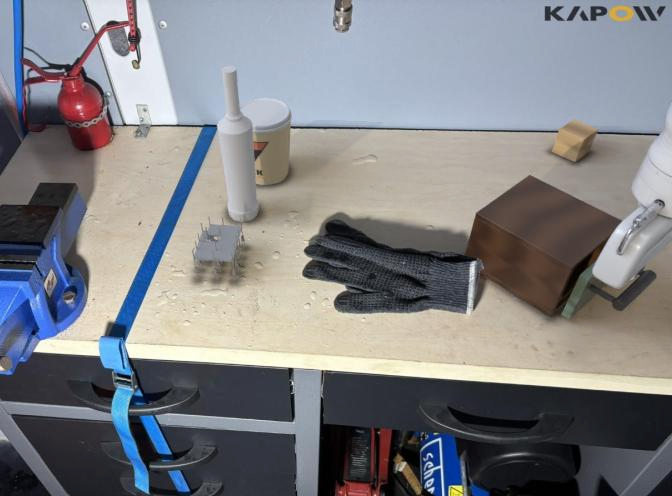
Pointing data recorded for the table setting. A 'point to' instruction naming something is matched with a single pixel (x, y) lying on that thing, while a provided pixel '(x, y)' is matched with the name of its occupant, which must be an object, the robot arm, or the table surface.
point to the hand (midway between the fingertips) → (630, 272)
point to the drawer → (599, 287)
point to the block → (574, 140)
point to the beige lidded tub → (269, 138)
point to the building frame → (219, 246)
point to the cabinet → (537, 240)
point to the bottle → (237, 152)
